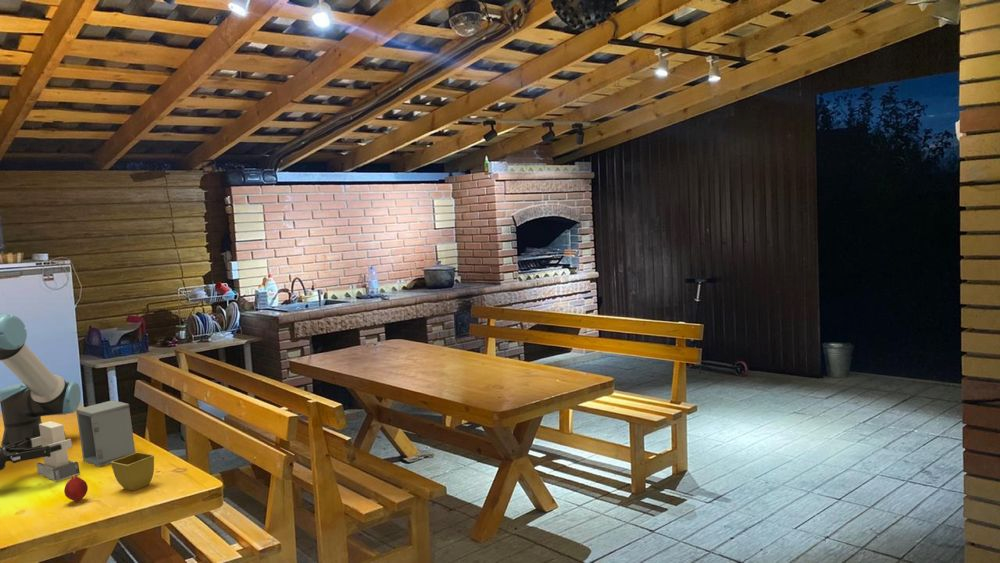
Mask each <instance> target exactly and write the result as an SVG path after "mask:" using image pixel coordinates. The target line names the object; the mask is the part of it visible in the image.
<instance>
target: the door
mask: <svg viewBox="0 0 1000 563" xmlns="http://www.w3.org/2000/svg"><path fill="white" fill-rule="evenodd" d="M39 429H40V435H41V442H42V445H41V447H45V446H48V445H50V444H53V443H57V442H60V441H64V440H66V432H65V427H64V424H61V423H58V422H55V421H52V420H51V421H50V420H49V421H45V422H42V423H41V424H39ZM68 460H69V455H68V449H65V450H61V451H58V452H54V453H51V456H50V457H48V456H47V457H43V461H44V464H45V465H47V466H50V467H52V468H57V467H60V466H63V465H67V464H70V463H69V461H70V460H69V461H68Z"/></svg>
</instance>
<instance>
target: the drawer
mask: <svg viewBox="0 0 1000 563" xmlns="http://www.w3.org/2000/svg"><path fill="white" fill-rule="evenodd" d="M68 461H69V463H70V464H67V465H63V466H60V467H57V468H52V467H50V466H47V465H45V463H42V462H36V463H35V464H36V472H37V474H38V475H40V476H42V477H43V478H47V479H49V480H52V481H54V482H56V483H57V482H61V481H64V480H66V478H67V479H69V477H70V478H71V477H72V476H73V475H77V476H79V475H78V474H80V475H81V472H80V467H79V466H80V465H79V462H78V461H72V460H70V459H68ZM63 479H64V480H63ZM60 480H61V481H60Z"/></svg>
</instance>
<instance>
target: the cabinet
mask: <svg viewBox="0 0 1000 563" xmlns="http://www.w3.org/2000/svg"><path fill="white" fill-rule="evenodd" d="M75 412H76V418H77V425H78V431H79V432H78V433H79V438H80V439H79V440H80V446H81V452H82V453H81V454H82V460H83V462H84V461H86V462H85V463H87V462H88V464H90V463H91V464H90V465H92V464H93V466H95V465H96V467H98V468H101V467H104V466H107V465H111V462H112V461H114V460H117V459H120V458H123V457H126V456H128V455H131V454H133V453H136V448H135V440H134V434H133V425H132V419H131V411H130V403H125V402H123V401H117V400H108V401H103V402H101V403H95V404H92V405H88V406H85V407H80V408H77V409H76V411H75Z"/></svg>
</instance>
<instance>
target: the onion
mask: <svg viewBox="0 0 1000 563" xmlns="http://www.w3.org/2000/svg"><path fill="white" fill-rule="evenodd" d="M88 487H89V486H88V484H87V482H86V481H85V480H84V479H83V478H81V477H78V475H77V476H75V475H73V476H72V477H70V479H69V480H68V481H67V482H66V484H65V486H64V495H65V497H66V498H67V499H69V500H70V501H73V502H75V503H79V502H81V500H83V499H84V497H85V496H86V495H87V492H88Z"/></svg>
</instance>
